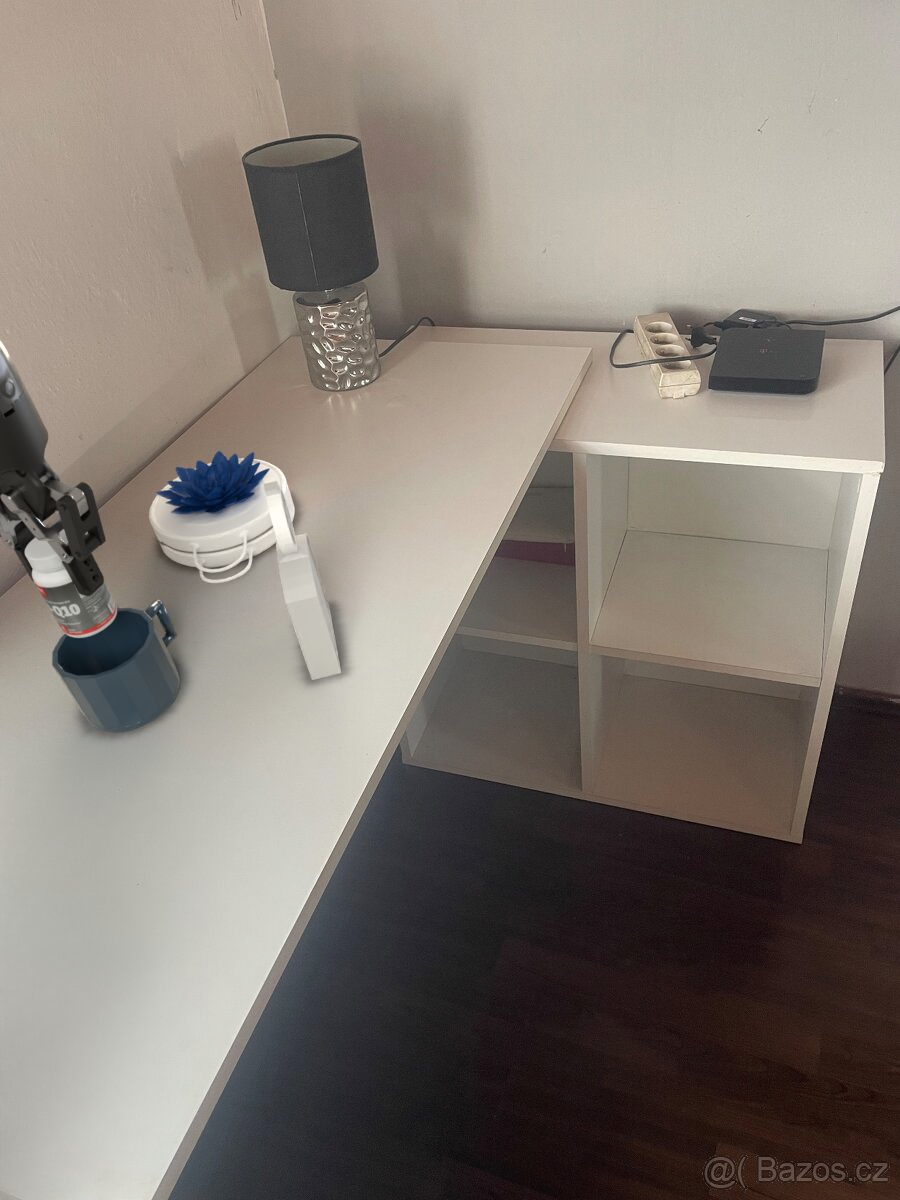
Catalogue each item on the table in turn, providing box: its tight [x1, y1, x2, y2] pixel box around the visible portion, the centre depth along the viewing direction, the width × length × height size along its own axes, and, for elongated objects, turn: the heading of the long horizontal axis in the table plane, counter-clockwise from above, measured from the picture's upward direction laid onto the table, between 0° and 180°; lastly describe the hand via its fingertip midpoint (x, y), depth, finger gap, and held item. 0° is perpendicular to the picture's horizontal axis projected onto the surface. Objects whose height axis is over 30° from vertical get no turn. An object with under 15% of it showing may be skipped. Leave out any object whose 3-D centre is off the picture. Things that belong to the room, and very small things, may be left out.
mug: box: [51, 599, 181, 733], centre depth 79 cm, size 12×9×7 cm
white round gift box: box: [148, 450, 296, 584], centre depth 96 cm, size 7×16×20 cm
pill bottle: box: [25, 529, 117, 638], centre depth 72 cm, size 5×5×8 cm
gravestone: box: [264, 481, 342, 681], centre depth 77 cm, size 3×9×18 cm, turn 12°
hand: (69, 582), depth 71 cm, fingers closed on pill bottle, 4 cm apart
